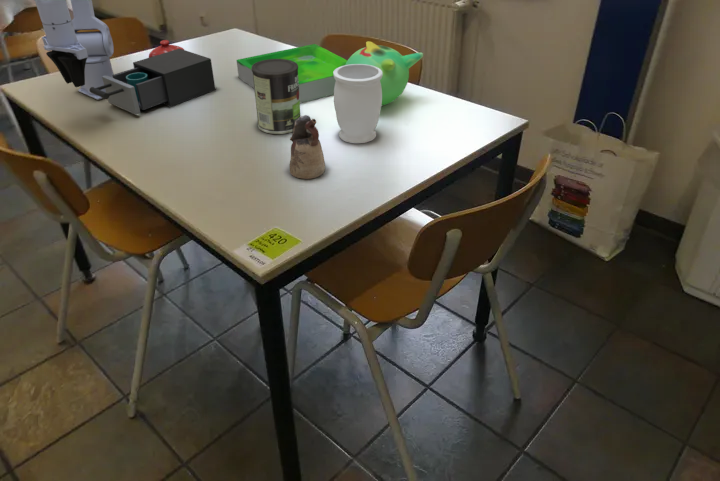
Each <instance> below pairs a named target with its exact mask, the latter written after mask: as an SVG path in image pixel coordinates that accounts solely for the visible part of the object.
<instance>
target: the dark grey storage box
mask: <svg viewBox="0 0 720 481" xmlns="http://www.w3.org/2000/svg"><path fill="white" fill-rule="evenodd" d="M183 49H184V48H183ZM183 49H180V48H179V49H176V50H173V51H169V52H166V53H163V54H160V55H156V56H153V57H150V58H149V57H146V58H143V59H140V60H136V61H134V62H132V65H133V68H137V67H140V68H142V69H145V70H148V71H150V72H153V73H156V74H158V75H161V76H163V79H164V84H165V89H166V94H167V99H168V101H167V102H164V103H162V105H164V106H168V107H174V106H176V105H180V104H183V103H184V102H187V101H190V100H193V99H195V98H198V97H201V96H203V95H205V94H208V93H211V92H213V91H216V83H215V78H214V77H215V76H214V70H213V65H212V58H210V57H207V56H204V55H201V54H198V53H194V52H192V51H188V50H186V49H184V50H183Z"/></svg>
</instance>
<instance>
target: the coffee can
mask: <svg viewBox="0 0 720 481" xmlns="http://www.w3.org/2000/svg"><path fill="white" fill-rule="evenodd" d="M251 69H252V72H253V82H254V88H253V90H254V100H255V109H256V117H257V128H258V129H259V130H260V131H262V132H263V133H266V134H272V135H284V134H285V135H286V134H290V133H293V128H294V125H295V121H296V120H297V119H298V118H300V117H301V116H302V115H301V103H300V99H299V81H298V64H297V63H296V62H294V61H291V60H286V59H268V60H262V61H259V62H257V63H255V64H253V65H252V67H251Z"/></svg>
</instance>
